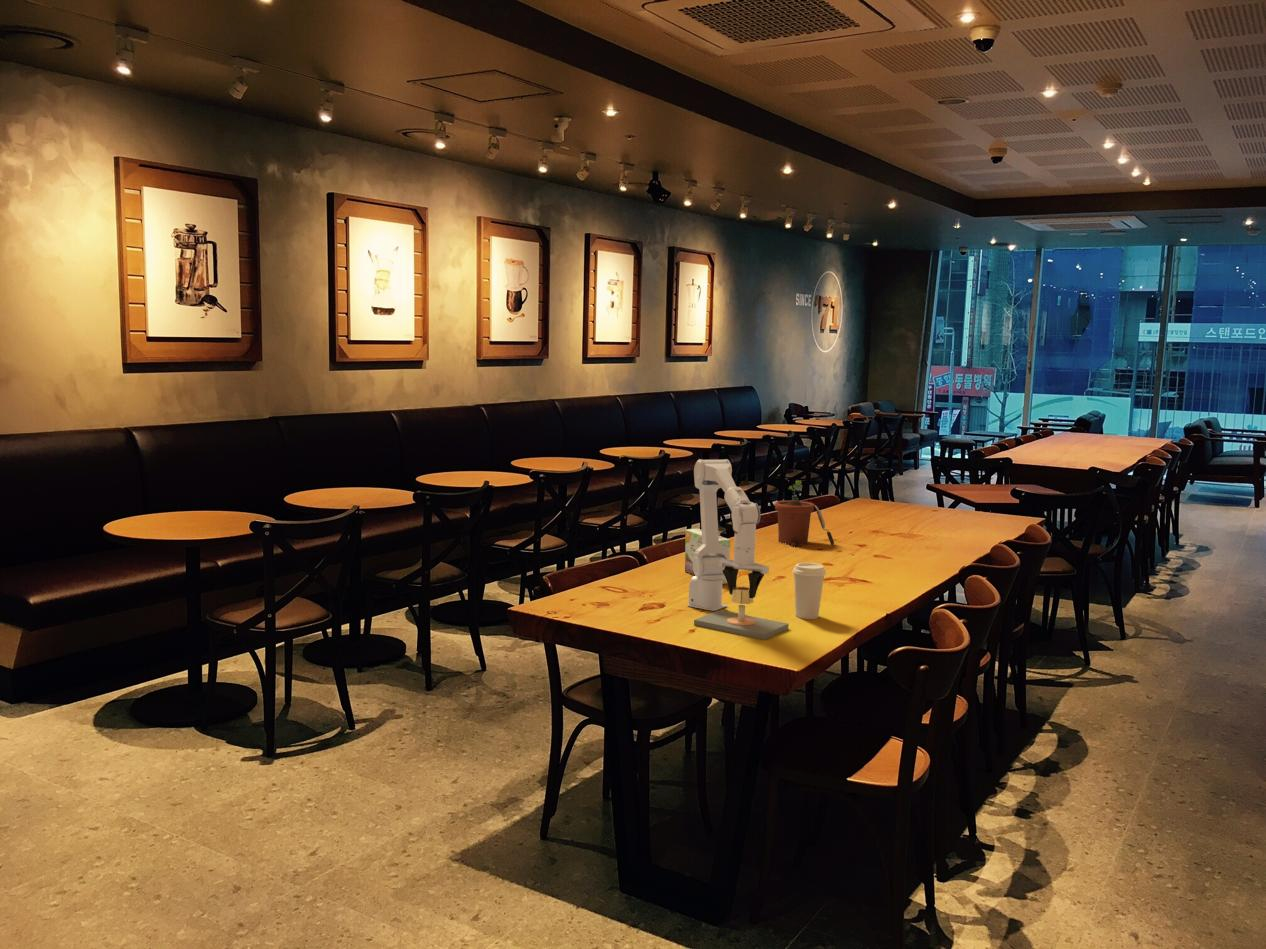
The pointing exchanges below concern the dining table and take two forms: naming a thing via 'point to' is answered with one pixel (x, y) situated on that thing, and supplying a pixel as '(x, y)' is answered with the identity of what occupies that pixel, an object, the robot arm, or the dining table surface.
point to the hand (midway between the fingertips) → (742, 595)
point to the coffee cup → (808, 589)
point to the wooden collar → (741, 595)
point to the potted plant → (796, 520)
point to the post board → (741, 624)
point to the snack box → (694, 542)
